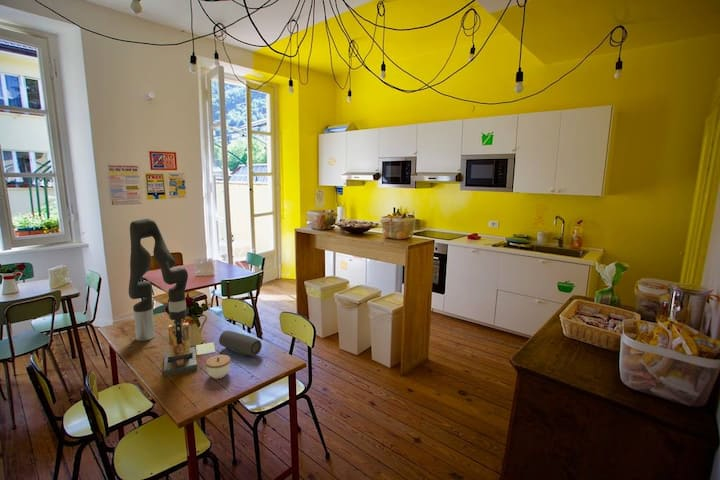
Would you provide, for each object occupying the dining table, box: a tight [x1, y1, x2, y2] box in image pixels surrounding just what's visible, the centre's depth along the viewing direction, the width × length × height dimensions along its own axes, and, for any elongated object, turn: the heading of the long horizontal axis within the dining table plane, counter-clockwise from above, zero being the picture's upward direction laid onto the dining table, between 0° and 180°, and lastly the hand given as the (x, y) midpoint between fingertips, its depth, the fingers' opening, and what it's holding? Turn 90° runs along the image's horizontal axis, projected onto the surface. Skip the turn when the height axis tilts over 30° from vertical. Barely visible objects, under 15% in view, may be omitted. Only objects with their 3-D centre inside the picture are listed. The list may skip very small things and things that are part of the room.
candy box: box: [167, 322, 191, 357], centre depth 173 cm, size 9×4×15 cm, turn 116°
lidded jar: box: [205, 354, 231, 380], centre depth 164 cm, size 11×11×9 cm
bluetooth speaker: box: [218, 330, 263, 357], centre depth 187 cm, size 23×9×10 cm, turn 63°
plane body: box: [163, 346, 198, 377], centre depth 174 cm, size 20×14×7 cm
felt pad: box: [195, 342, 216, 357], centre depth 190 cm, size 12×9×1 cm
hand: (179, 341), depth 173 cm, fingers closed on candy box, 4 cm apart
